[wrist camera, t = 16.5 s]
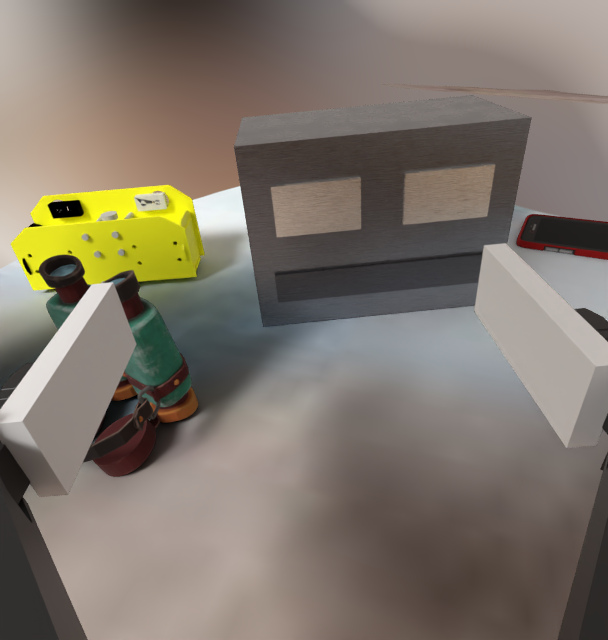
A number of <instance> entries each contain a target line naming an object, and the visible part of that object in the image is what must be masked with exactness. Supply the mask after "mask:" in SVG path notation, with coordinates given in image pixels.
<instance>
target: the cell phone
mask: <svg viewBox="0 0 608 640" xmlns="http://www.w3.org/2000/svg"><path fill="white" fill-rule="evenodd" d="M517 245H518V246H520V247H524V248H529V249H536V250H547V251H554V252H561V253H568V254H574V255H578V256H585V257H592V258H599V259H606V260H608V222H603V221H594V220H584V219H575V218H566V217H557V216H548V215H538V214H531V215H528V216H527V217H526V219H525V221H524V224H523V226H522V228H521V231H520V233H519V235H518V238H517Z"/></svg>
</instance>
